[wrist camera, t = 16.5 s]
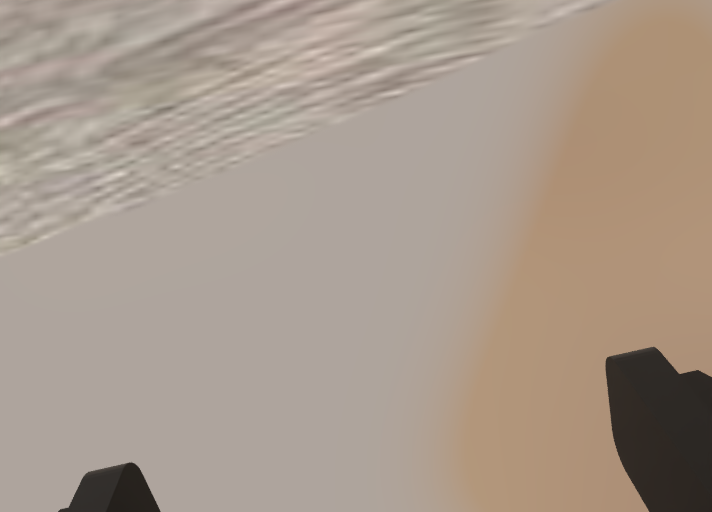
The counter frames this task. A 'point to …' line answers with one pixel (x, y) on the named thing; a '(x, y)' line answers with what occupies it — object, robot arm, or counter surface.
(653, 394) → the robot arm
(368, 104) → the counter surface
